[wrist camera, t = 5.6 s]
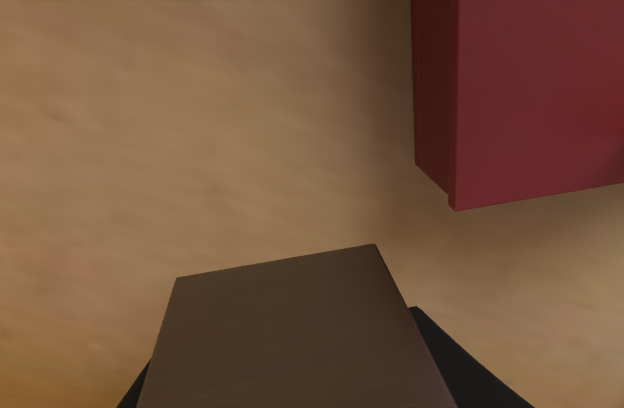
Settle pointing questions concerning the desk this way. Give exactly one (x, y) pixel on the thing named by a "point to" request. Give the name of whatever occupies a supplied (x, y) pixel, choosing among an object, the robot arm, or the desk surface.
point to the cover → (534, 99)
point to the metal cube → (293, 339)
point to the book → (431, 87)
